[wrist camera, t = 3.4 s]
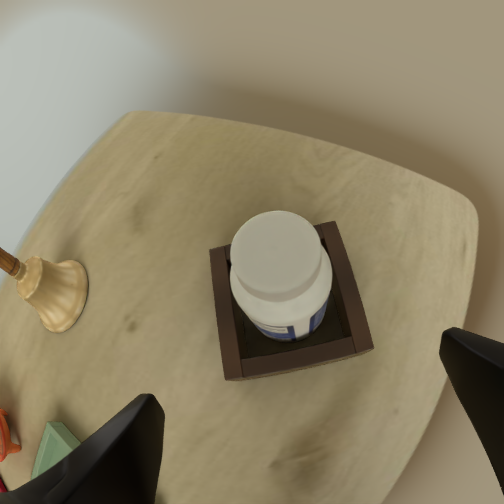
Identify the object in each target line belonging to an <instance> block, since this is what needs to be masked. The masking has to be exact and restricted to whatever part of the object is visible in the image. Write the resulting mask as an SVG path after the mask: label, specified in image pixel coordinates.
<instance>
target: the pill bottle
mask: <svg viewBox="0 0 504 504" xmlns="http://www.w3.org/2000/svg"><path fill="white" fill-rule="evenodd" d="M230 258H231V264H232V266H231V272H230V284H231V289H232V292H233V295H234V297H235V299H236V301H237V303H238V305H239V306H240V307H241V309H242V310H243V311H244V312H245V314H246V315H247V316H248V317H249V319H250V320H251V321H252V322H253V323H254V324H255V326H256V327H257V328H258V329H259V330H260V331H261V332H262V333H263V334H264V335H265V336H267V337H268V338H270V339H272V340H274V341H278V342H282V343H293V342H297V341H300V340H303V339H305V338H307V337H308V336H310V335H311V334H312V333H314V332H315V331H316V329H317V328H318V327H319V325H320V324H321V322H322V320H323V317H324V314H325V310H326V306H327V302H328V298H329V294H330V290H331V285H332V267H331V262H330V259H329V257H328V254H327V253H326V251H325V249H324V248H323V246H322V245H321V242H320V238H319V236H318V233H317V232H316V230H315V228H314V227H313V226H312V225H311V224H310V223H309V222H308V221H307V220H306V219H304V218H303V217H301V216H299V215H297V214H295V213H291V212H288V211H269V212H264V213H261V214H259V215H256V216H254V217H253V218H251V219H249V220H248V221H247V222H246V223H244V224H243V225H242V226H241V228H240V229H239V230H238V232H237V233H236V235H235V237H234V239H233V241H232V245H231V251H230Z"/></svg>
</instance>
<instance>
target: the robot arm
mask: <svg viewBox="0 0 504 504" xmlns="http://www.w3.org/2000/svg"><path fill="white" fill-rule="evenodd" d="M439 355H440V359H441V361H442V363H443V365H444V368H445V370H446V372H447V374H448V376H449V379H450V381H451V383H452V386H453V388H454V390H455V392H456V394H457V396H458V398H459V400H460V402H461V404H462V406H463V407H464V409H465V411H466V413H467V415H468V417H469V418H470V420H471V422H472V424H473V426H474V428H475V430H476V432H477V434H478V436H479V438H480V440H481V442H482V444H483V447H484V449H485V451H486V453H487V455H488V457H489V460H490V462H491V464H492V467H493V469H494V472H495V474H496V476H497V479H498V481H499V484H500V487H502V488H501V490H502V492H503V495H504V343H501V342H498V341H495V340H492V339H489V338H486V337H483V336H480V335H477V334H474V333H471V332H468V331H465V330H462V329H460V328H457V327H452V328H449V329H447V330H445V331H444V332H443V333H442V338H441V344H440V350H439ZM164 423H165V413H164V410H163V409H162V407H161V405H160V404H159V402H158V401H157V399H156V398H155V396H154V395H153V394H140V395H138V396H137V397H136V398H135V399H134V400H133V401H131V402H130V403H129V404H128V405H127V406H126V407H124V408H123V409H122V410H121V411H120V412H118V413H117V414H116V415H115V416H114V417H113V418H111V419H110V420H109V421H108V422H107V423H105V424H104V425H103V426H102V427H101V428H99V429H98V430H97V431H96V432H95V433H93V434H92V435H91V436H90V437H89V438H87V439H86V440H85V441H84V442H82V443H81V444H80V445H79V446H78V447H76V448H75V449H74V450H73V451H71V452H70V453H69V454H68V455H67V456H65V457H64V458H63V459H61V460H60V461H59V462H57V463H56V464H55V465H53V466H52V467H51V468H49V469H48V470H46V471H45V472H43V473H42V474H40V475H39V476H37V477H36V478H34V479H32V480H31V481H29V482H27V483H26V484H24V485H22V486H21V487H19V488H17V489H15V490H13V491H10V492H0V504H154V502H155V496H156V489H157V483H158V477H159V471H160V466H161V460H162V452H163V436H164Z"/></svg>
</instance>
